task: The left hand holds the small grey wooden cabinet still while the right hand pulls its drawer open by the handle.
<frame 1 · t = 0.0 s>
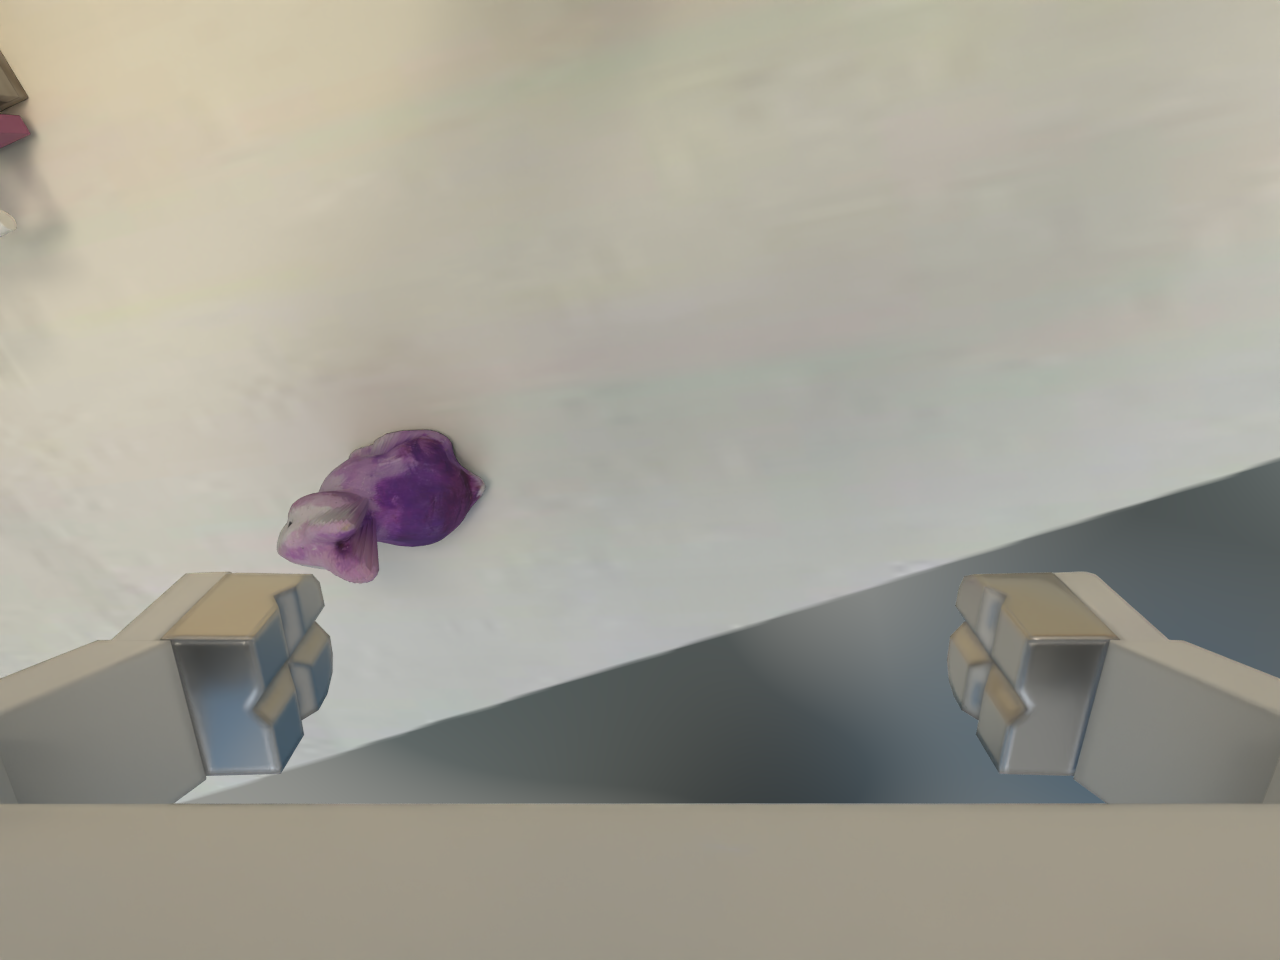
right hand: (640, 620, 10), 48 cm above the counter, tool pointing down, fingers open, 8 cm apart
figurine: (408, 478, 61), on the counter
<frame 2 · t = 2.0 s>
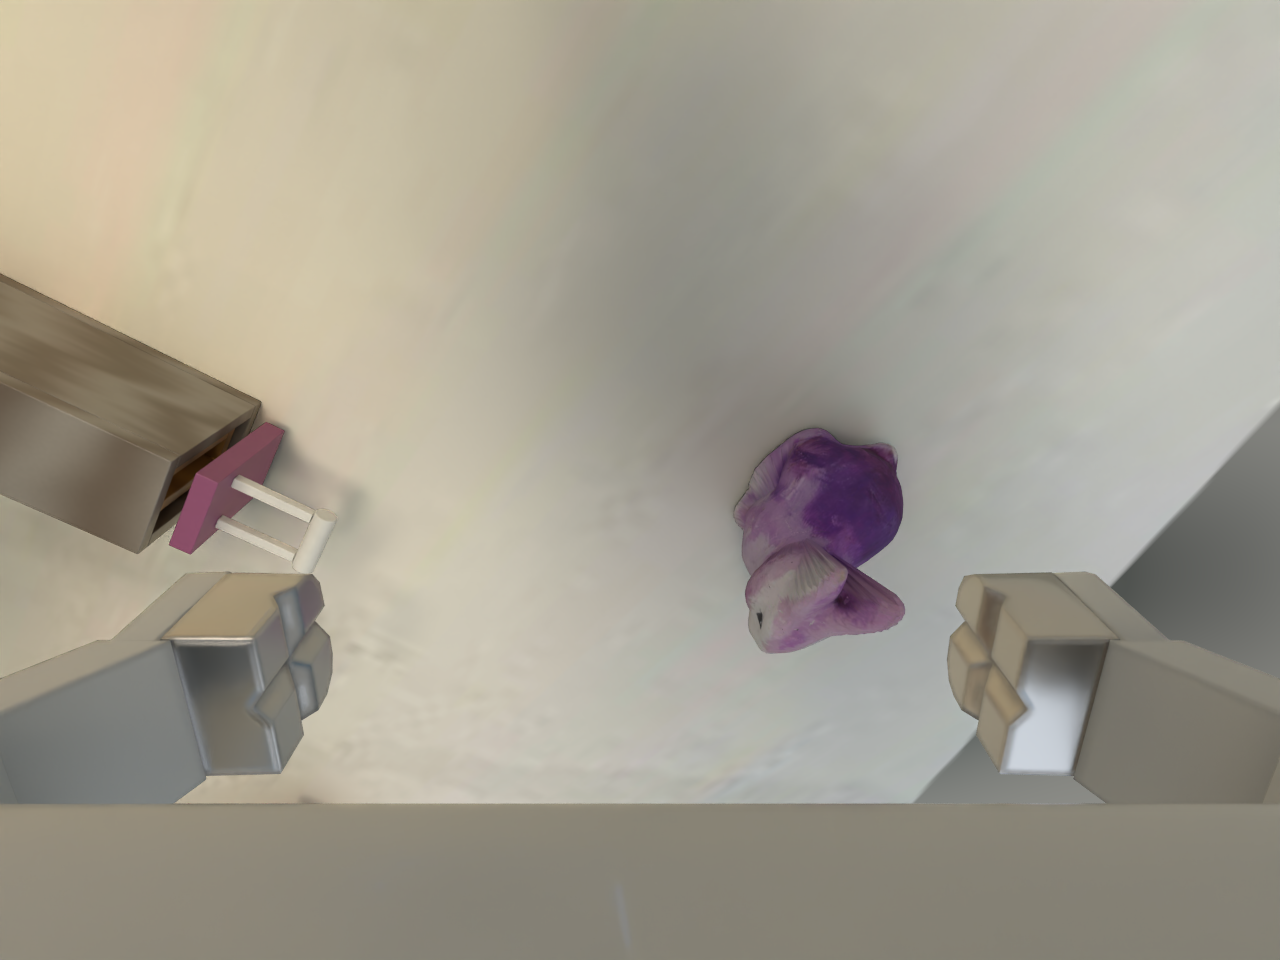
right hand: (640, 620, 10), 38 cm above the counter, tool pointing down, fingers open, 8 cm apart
figurine: (803, 498, 51), on the counter
cabinet: (113, 377, 48), on the counter
drawer: (156, 449, 44), point 5 cm above the counter, slide at 0.9 cm
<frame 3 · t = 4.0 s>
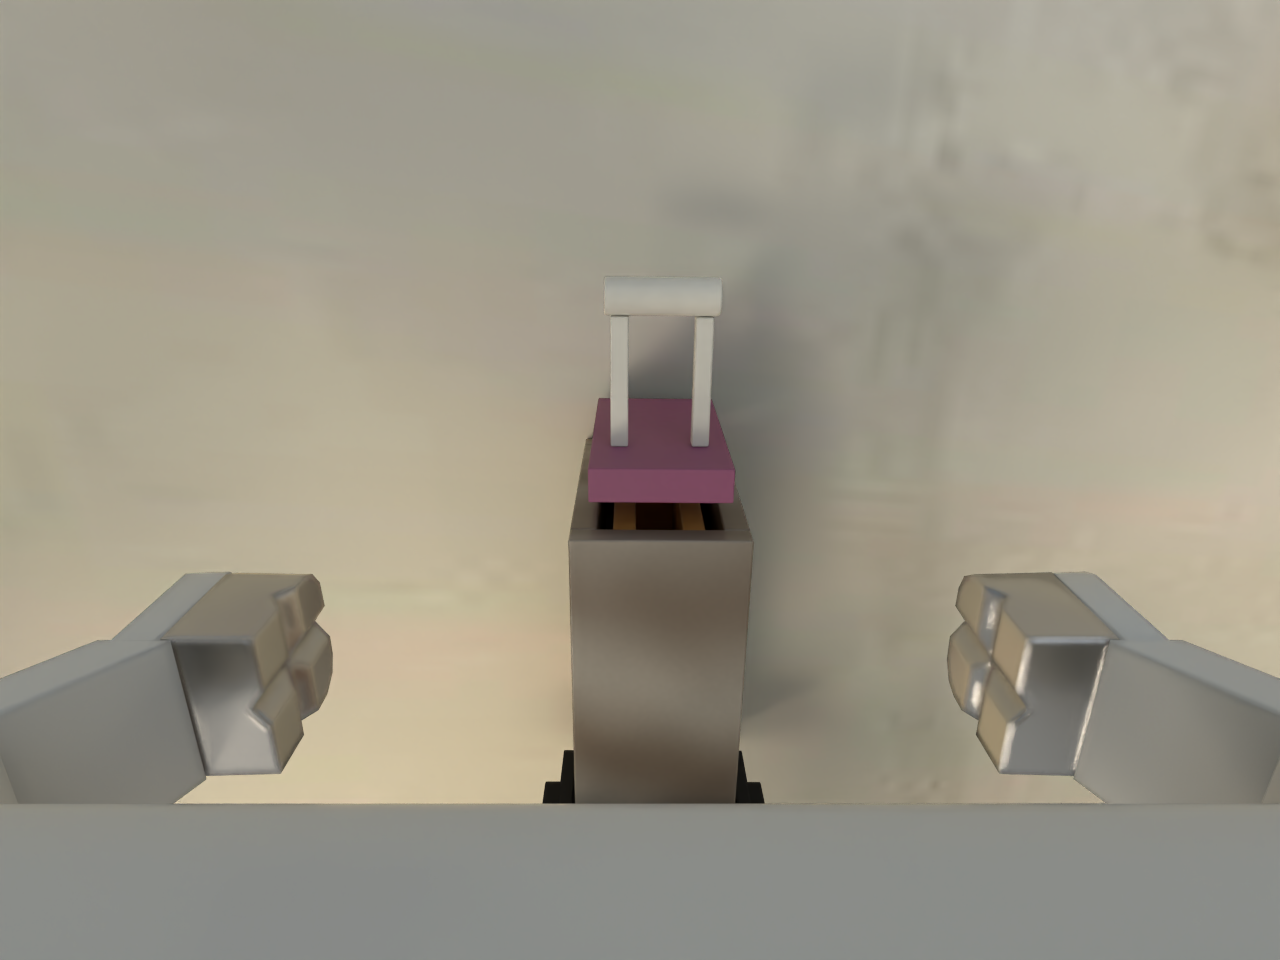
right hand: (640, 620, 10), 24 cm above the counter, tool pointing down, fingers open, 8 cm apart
cabinet: (650, 603, 38), on the counter, touching left hand
drawer: (655, 547, 31), point 5 cm above the counter, slide at 0.9 cm
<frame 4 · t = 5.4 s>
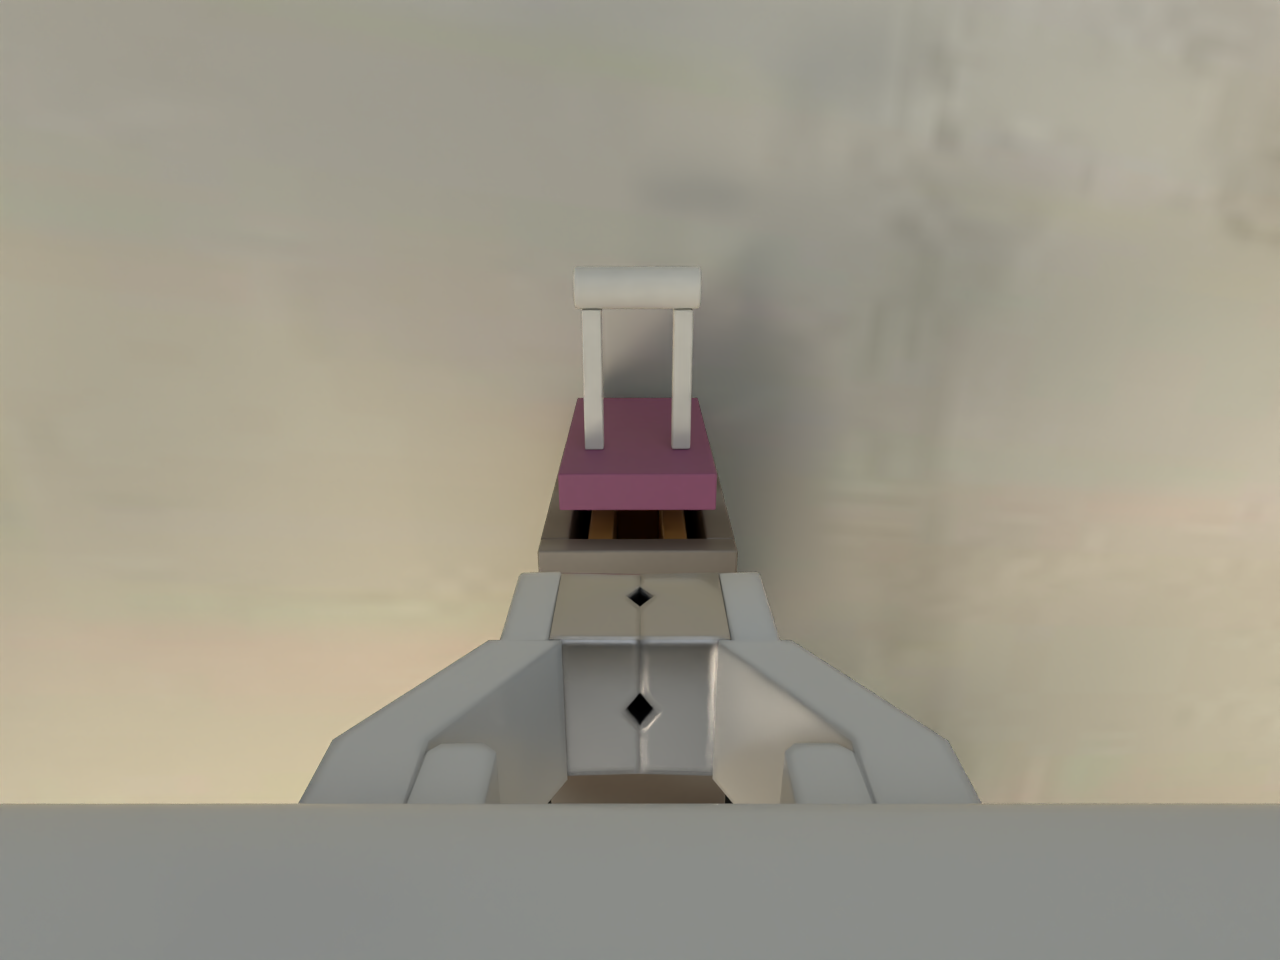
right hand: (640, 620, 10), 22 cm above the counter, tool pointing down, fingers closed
cabinet: (638, 612, 36), on the counter, touching left hand
drawer: (637, 555, 29), point 5 cm above the counter, slide at 0.9 cm
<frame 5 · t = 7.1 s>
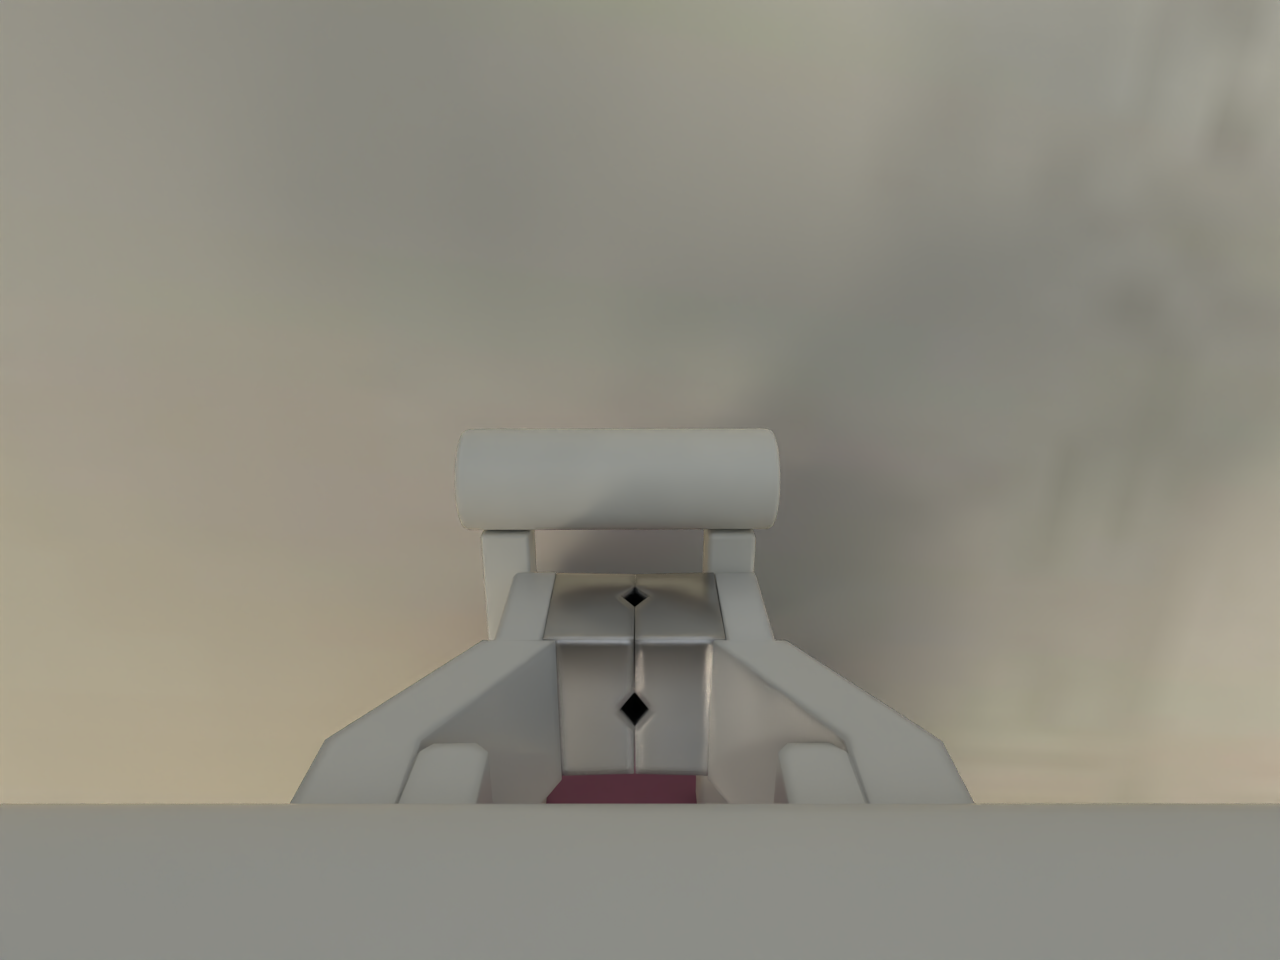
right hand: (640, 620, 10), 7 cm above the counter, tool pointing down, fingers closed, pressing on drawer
drawer: (624, 945, 15), point 5 cm above the counter, slide at 1.0 cm, touching right hand
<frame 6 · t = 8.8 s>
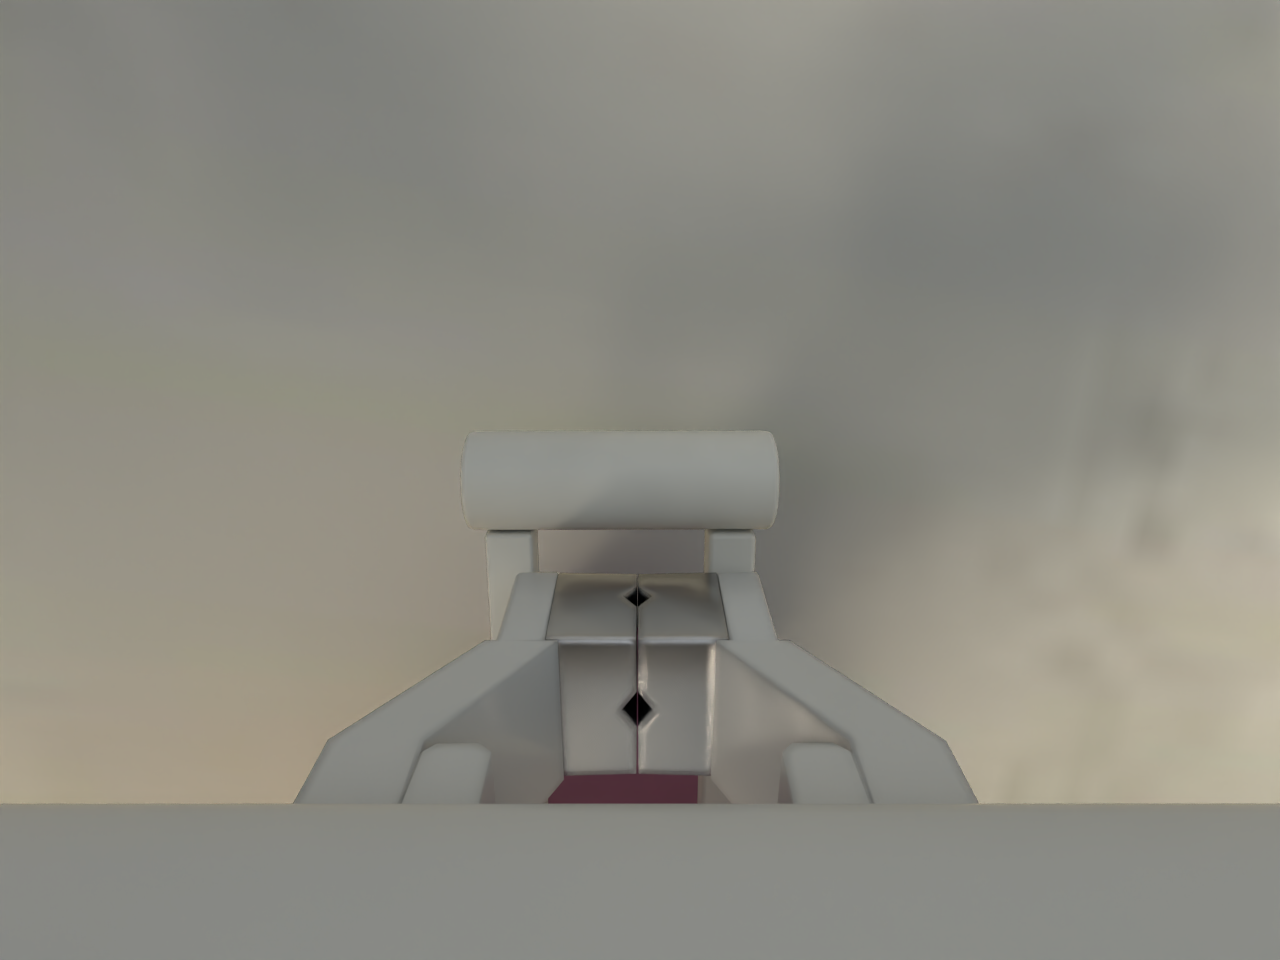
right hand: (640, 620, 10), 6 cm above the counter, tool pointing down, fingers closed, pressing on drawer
when the left hand's fingers open (7 cm above the counter, at t = 10.5 s): cabinet stays where it is, on the counter.
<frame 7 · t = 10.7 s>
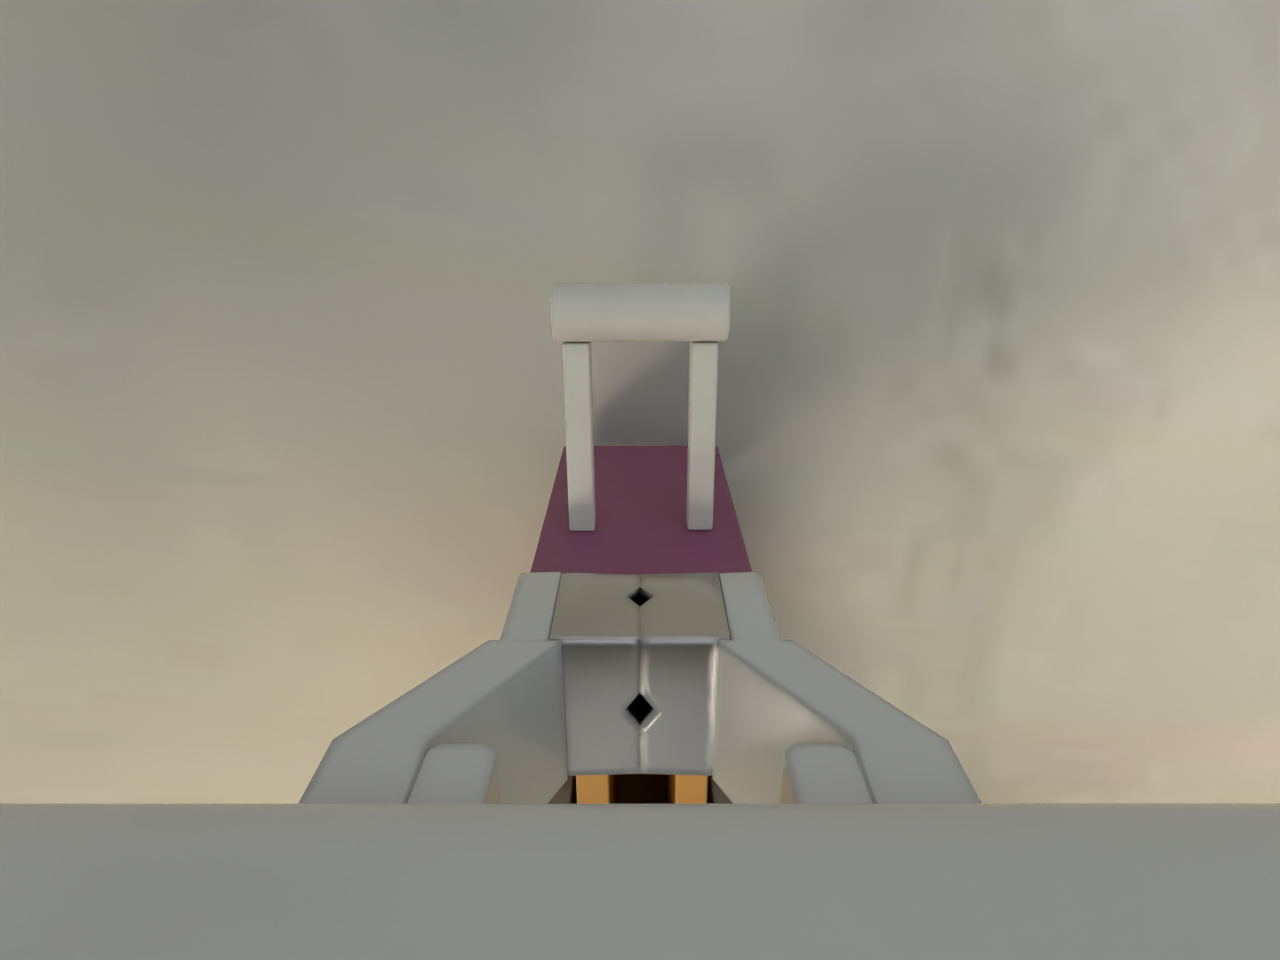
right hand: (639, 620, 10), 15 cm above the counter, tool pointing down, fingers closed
cabinet: (641, 851, 32), on the counter
drawer: (641, 656, 22), point 5 cm above the counter, slide at 8.2 cm
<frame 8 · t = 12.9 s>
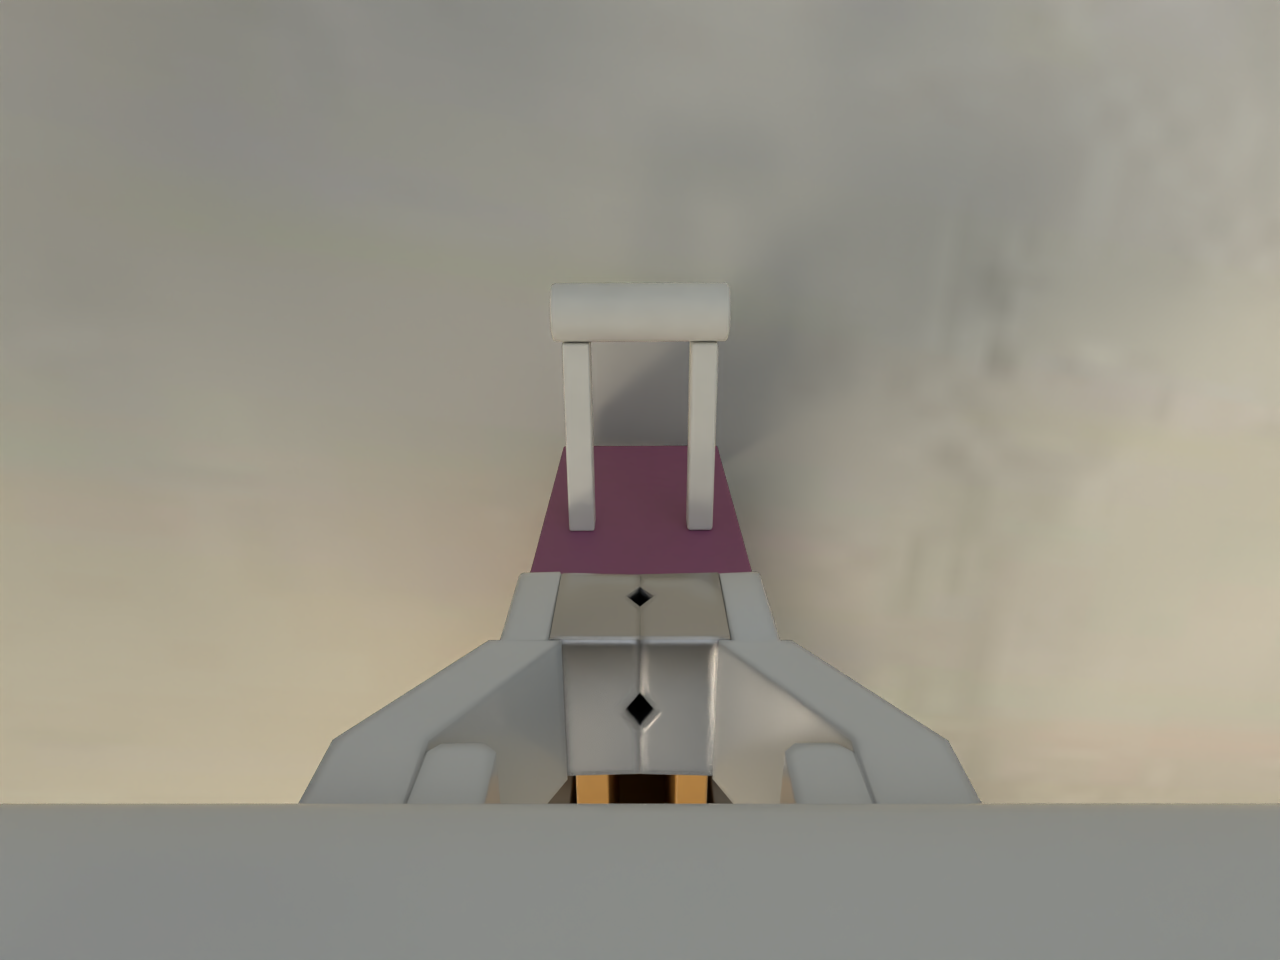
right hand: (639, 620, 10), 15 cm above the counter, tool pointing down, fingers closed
cabinet: (641, 850, 32), on the counter
drawer: (641, 655, 22), point 5 cm above the counter, slide at 8.2 cm
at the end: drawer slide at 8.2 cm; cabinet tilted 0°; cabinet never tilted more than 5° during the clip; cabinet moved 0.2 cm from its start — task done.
